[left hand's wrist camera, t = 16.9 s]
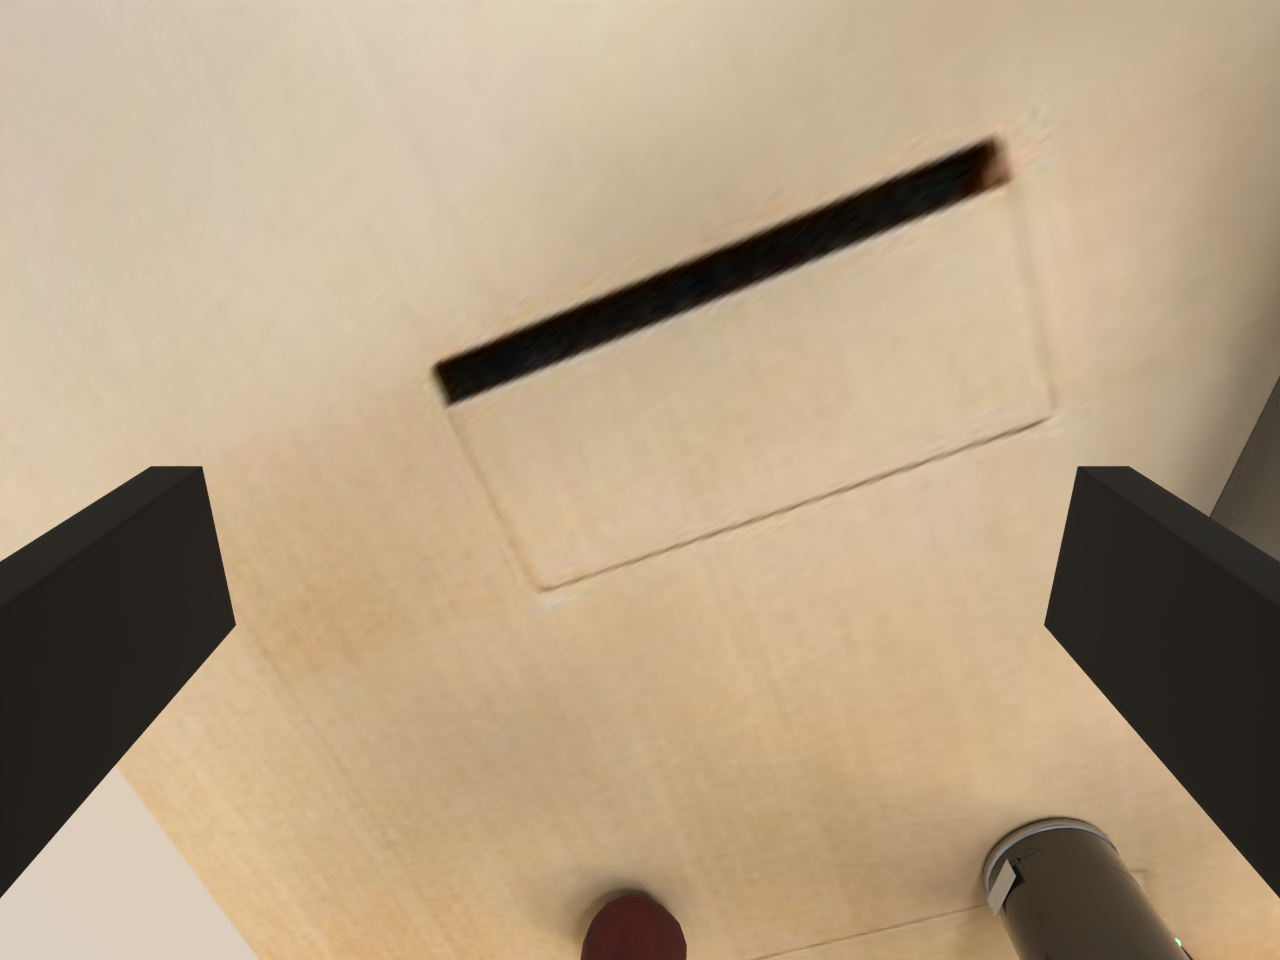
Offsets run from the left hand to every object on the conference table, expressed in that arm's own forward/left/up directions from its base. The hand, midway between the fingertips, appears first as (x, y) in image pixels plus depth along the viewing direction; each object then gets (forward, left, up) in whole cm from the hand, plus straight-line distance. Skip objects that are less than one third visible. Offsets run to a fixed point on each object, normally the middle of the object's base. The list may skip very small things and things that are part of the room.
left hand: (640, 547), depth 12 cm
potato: (+45, +12, -33) cm, 57 cm away
